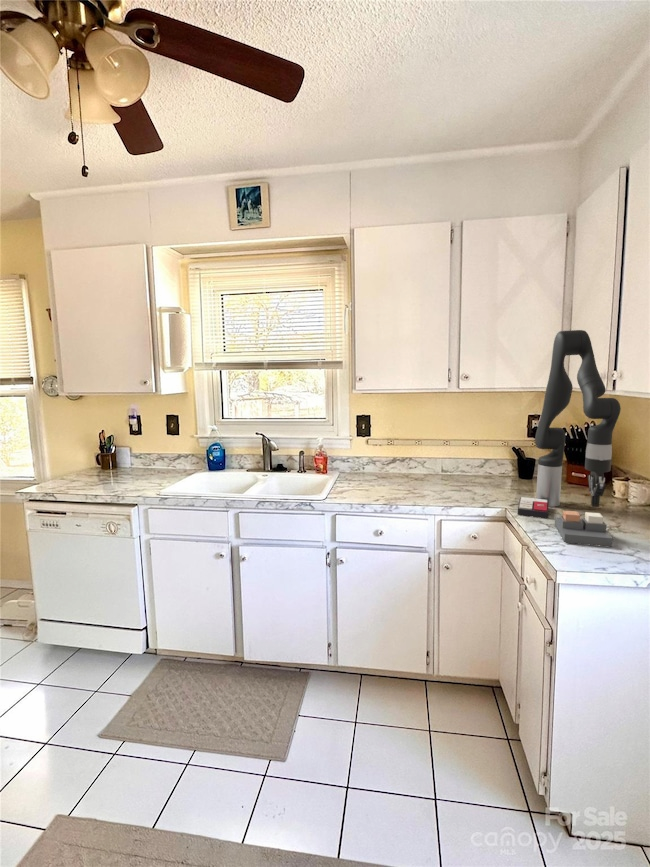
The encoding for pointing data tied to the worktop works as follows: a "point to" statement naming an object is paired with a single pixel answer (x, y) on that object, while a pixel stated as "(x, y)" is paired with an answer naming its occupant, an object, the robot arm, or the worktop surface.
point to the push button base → (583, 532)
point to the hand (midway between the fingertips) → (594, 506)
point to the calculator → (533, 507)
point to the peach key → (571, 516)
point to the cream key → (594, 518)
